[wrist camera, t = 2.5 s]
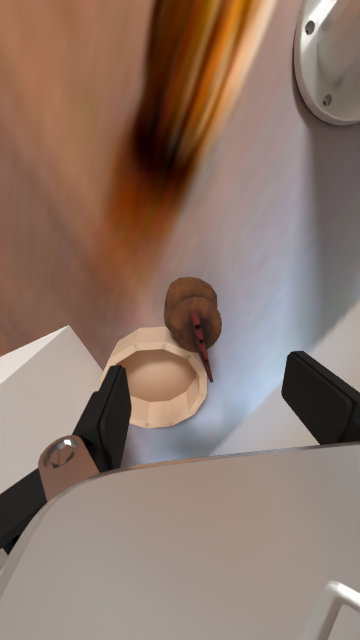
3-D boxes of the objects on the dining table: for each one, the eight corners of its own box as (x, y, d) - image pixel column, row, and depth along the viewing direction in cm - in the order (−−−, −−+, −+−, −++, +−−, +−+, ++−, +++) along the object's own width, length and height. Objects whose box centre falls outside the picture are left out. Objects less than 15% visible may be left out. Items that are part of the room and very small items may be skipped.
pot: (201, 324, 28) (207, 338, 24) (201, 400, 33) (206, 423, 29) (102, 330, 27) (90, 346, 23) (118, 406, 32) (110, 431, 28)
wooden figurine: (201, 323, 28) (236, 402, 14) (162, 318, 27) (156, 395, 13) (212, 276, 25) (266, 314, 11) (169, 269, 25) (170, 300, 11)
